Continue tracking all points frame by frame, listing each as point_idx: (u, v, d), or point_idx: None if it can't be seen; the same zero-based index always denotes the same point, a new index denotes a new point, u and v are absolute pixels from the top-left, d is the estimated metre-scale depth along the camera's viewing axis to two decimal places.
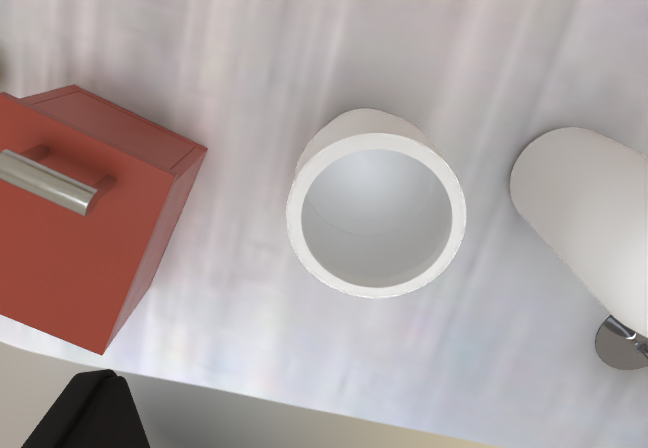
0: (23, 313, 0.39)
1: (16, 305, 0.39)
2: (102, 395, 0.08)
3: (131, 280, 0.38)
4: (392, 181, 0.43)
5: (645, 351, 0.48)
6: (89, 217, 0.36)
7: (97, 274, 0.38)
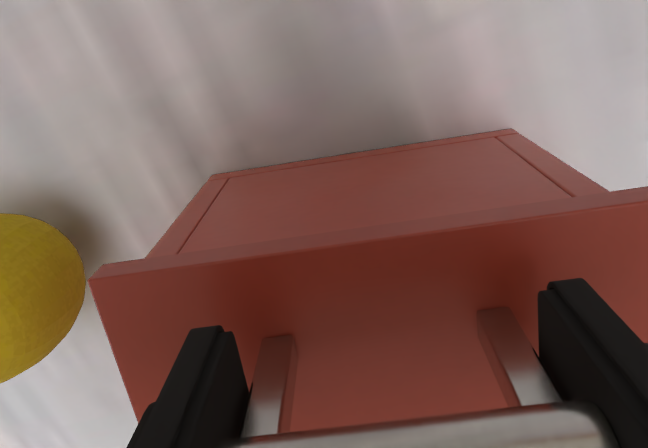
0: None
1: None
2: (220, 346, 0.09)
3: None
4: None
5: None
6: None
7: None
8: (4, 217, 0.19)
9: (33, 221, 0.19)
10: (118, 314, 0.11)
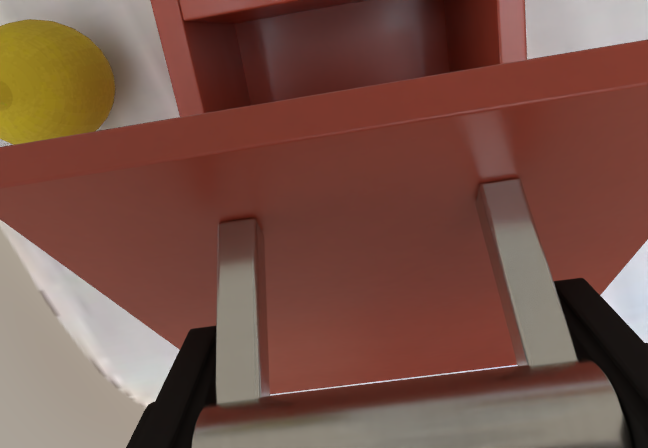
0: (381, 376, 0.20)
1: (364, 375, 0.20)
2: None
3: None
4: None
5: None
6: (454, 268, 0.12)
7: None
8: (54, 22, 0.24)
9: (75, 30, 0.24)
10: (25, 217, 0.09)
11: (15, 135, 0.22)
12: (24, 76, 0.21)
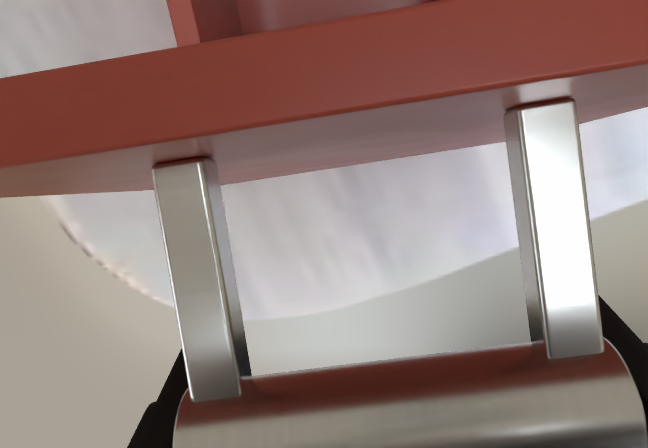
0: (350, 164, 0.19)
1: None
2: None
3: (604, 117, 0.13)
4: None
5: None
6: (453, 133, 0.10)
7: (498, 135, 0.13)
8: None
9: None
10: None
11: None
12: None
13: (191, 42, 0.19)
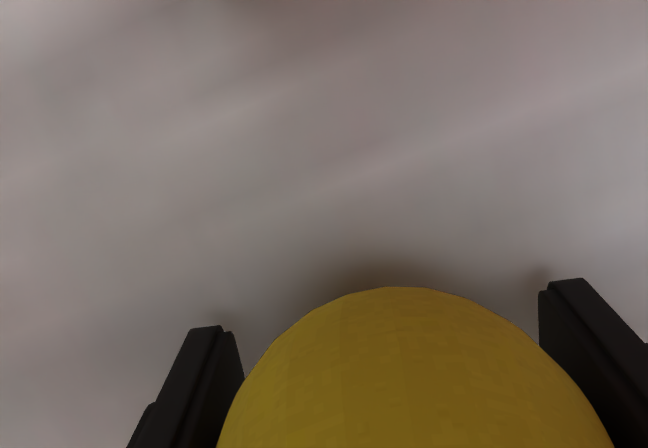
0: None
1: None
2: (219, 346, 0.09)
3: None
4: None
5: None
6: None
7: None
8: None
9: None
10: None
11: None
12: None
13: None
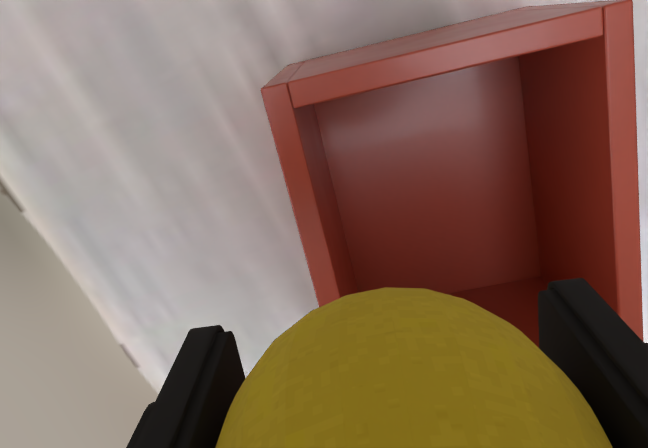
0: None
1: None
2: (220, 346, 0.09)
3: None
4: None
5: None
6: None
7: None
8: None
9: None
10: None
11: None
12: None
13: None
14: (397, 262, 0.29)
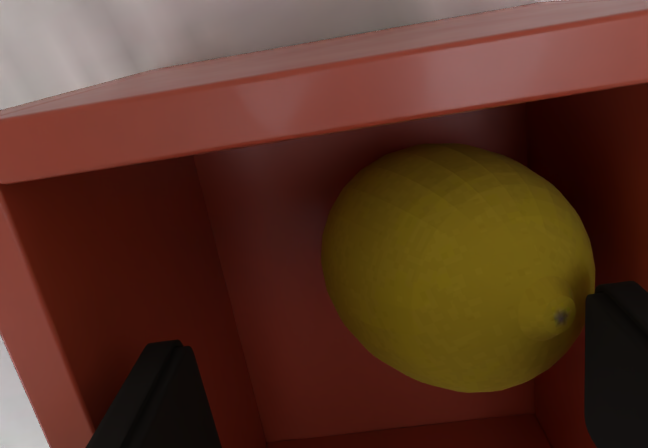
0: None
1: None
2: (175, 362, 0.09)
3: None
4: None
5: None
6: None
7: None
8: (325, 243, 0.13)
9: (331, 210, 0.13)
10: None
11: (593, 287, 0.11)
12: (507, 251, 0.09)
13: None
14: (320, 380, 0.19)
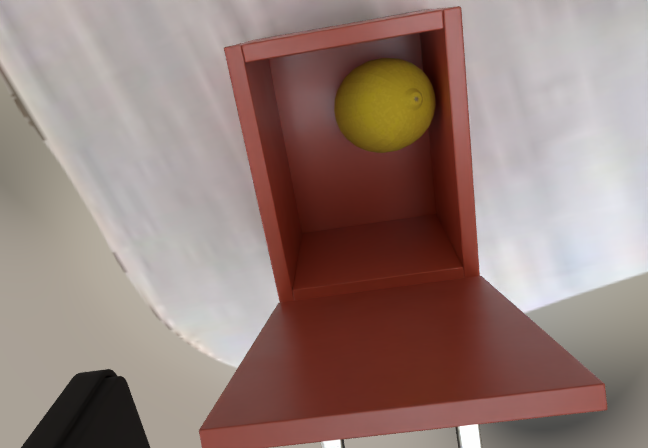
0: None
1: None
2: (102, 395, 0.08)
3: None
4: None
5: None
6: None
7: None
8: (336, 99, 0.32)
9: None
10: None
11: (433, 101, 0.30)
12: (399, 80, 0.29)
13: (273, 229, 0.30)
14: (329, 196, 0.39)
